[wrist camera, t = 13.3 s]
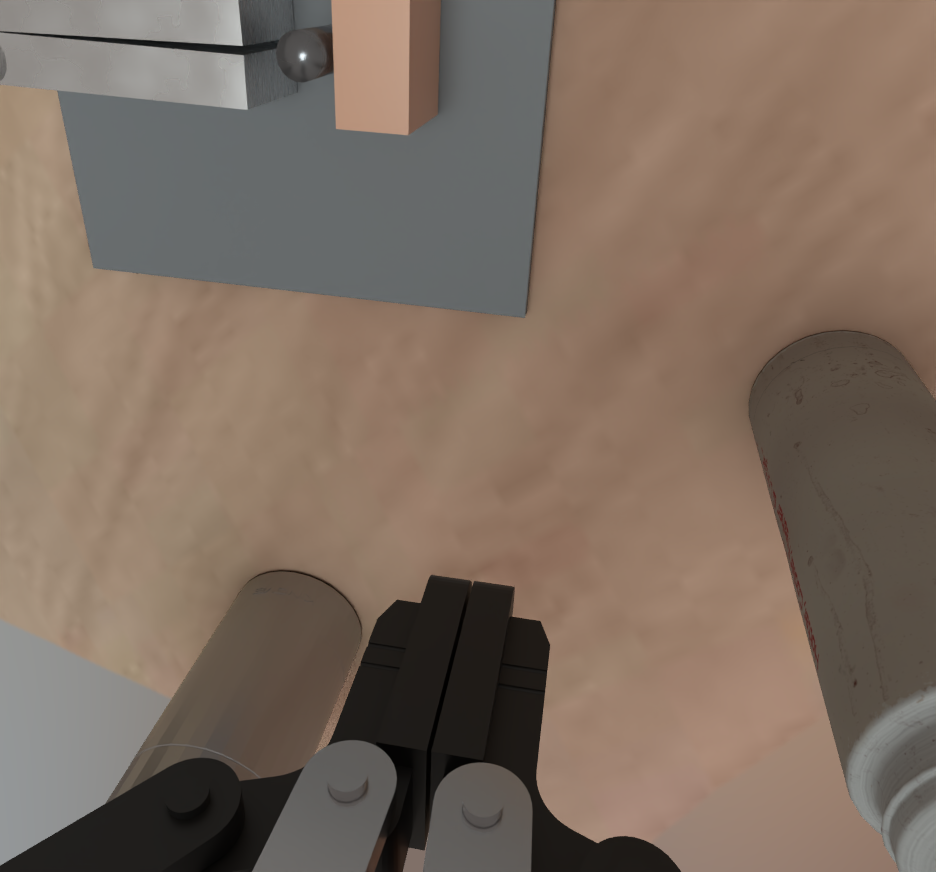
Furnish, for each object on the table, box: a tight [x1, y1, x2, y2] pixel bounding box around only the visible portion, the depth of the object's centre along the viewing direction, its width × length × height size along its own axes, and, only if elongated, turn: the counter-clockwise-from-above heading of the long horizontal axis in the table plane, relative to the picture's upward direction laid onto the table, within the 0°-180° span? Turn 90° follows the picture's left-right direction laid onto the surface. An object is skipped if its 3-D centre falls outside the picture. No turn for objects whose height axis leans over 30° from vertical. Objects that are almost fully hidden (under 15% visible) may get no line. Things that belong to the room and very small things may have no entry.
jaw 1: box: [0, 0, 294, 46], centre depth 33 cm, size 12×2×6 cm, turn 88°
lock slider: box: [331, 0, 441, 135], centre depth 32 cm, size 3×5×6 cm, turn 177°
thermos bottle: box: [749, 331, 936, 872], centre depth 28 cm, size 8×8×28 cm
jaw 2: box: [0, 31, 297, 110], centre depth 34 cm, size 12×2×6 cm, turn 86°
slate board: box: [57, 0, 556, 318], centre depth 37 cm, size 20×24×1 cm
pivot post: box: [276, 24, 334, 82], centre depth 32 cm, size 2×2×6 cm
